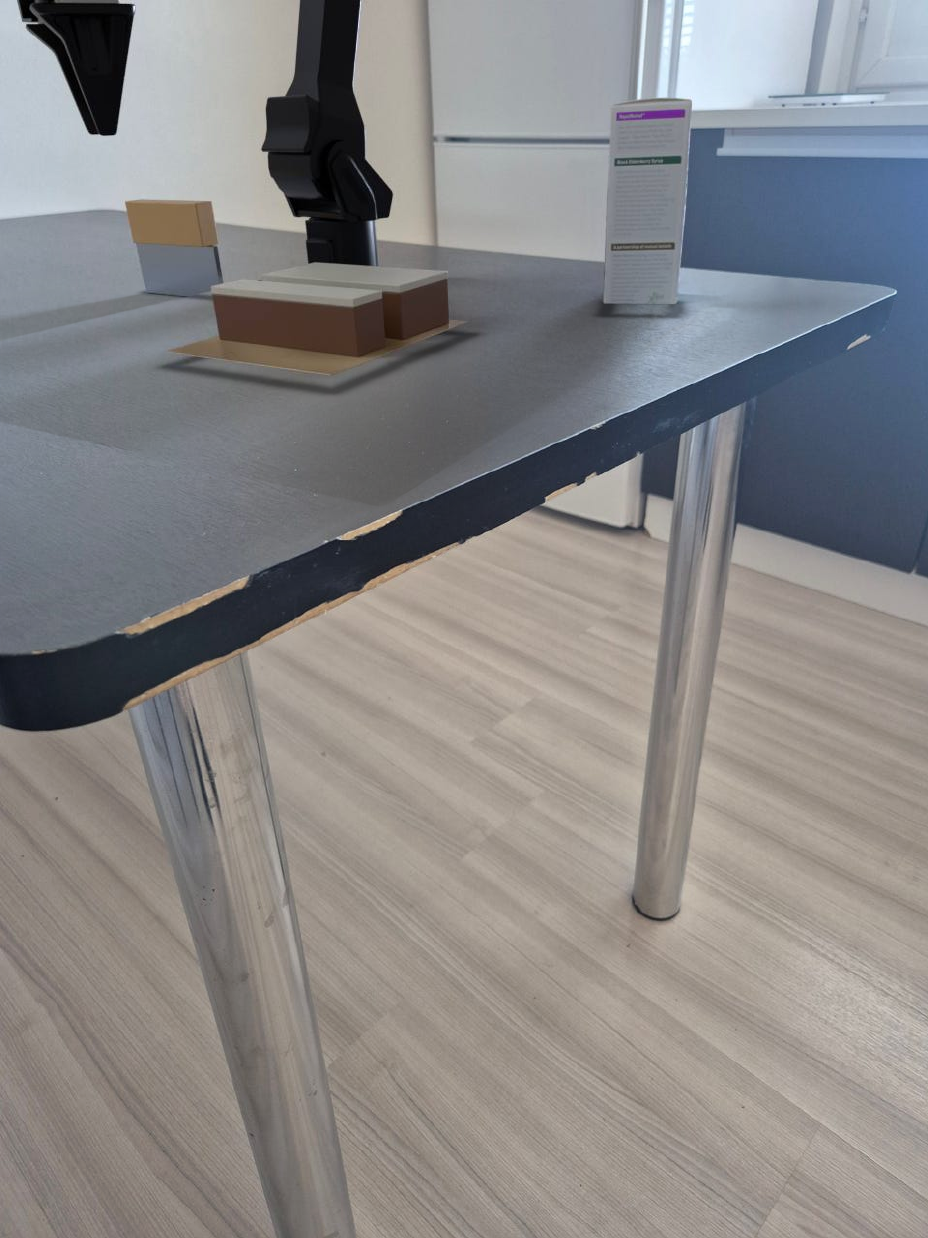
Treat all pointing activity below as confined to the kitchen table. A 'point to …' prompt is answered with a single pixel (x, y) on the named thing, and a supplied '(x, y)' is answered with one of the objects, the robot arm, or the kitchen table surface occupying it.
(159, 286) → the scraper
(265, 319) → the cake slice
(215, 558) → the kitchen table surface
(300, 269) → the cake
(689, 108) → the syrup box
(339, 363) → the cake board
